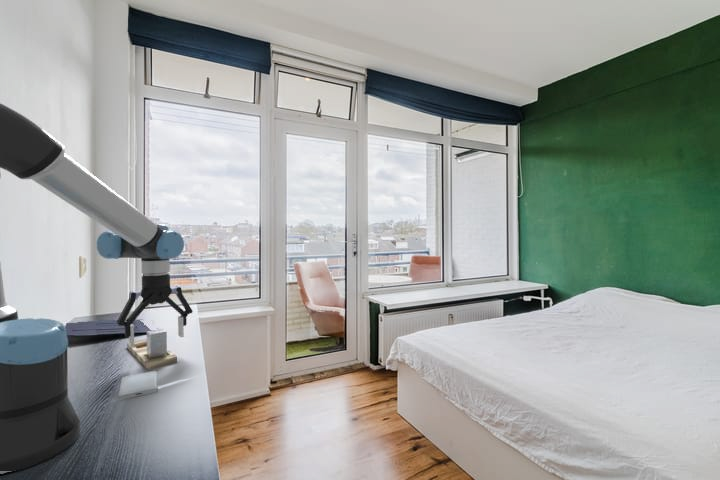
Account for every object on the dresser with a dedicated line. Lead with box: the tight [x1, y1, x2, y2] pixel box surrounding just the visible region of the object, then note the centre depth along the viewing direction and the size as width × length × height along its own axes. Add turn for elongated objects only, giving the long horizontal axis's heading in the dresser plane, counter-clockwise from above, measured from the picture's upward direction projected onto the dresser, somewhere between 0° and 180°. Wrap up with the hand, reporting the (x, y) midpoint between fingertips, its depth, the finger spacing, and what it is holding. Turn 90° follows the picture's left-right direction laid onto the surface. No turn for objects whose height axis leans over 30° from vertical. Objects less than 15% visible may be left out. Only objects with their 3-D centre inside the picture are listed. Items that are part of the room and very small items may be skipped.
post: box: [146, 328, 168, 360], centre depth 104 cm, size 4×4×9 cm
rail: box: [126, 338, 178, 370], centre depth 109 cm, size 26×8×2 cm, turn 46°
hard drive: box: [118, 370, 159, 401], centre depth 88 cm, size 2×8×12 cm
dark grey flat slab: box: [65, 318, 152, 337], centre depth 135 cm, size 24×30×4 cm
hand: (157, 341), depth 104 cm, fingers open, 13 cm apart
